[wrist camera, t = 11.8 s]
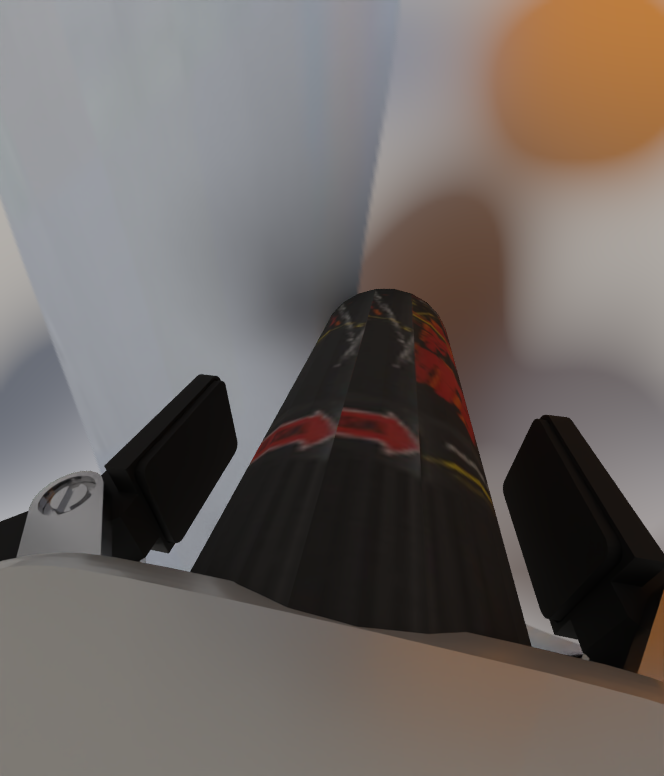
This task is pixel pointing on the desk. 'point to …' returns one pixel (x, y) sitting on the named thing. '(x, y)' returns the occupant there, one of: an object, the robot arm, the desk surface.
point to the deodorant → (373, 487)
